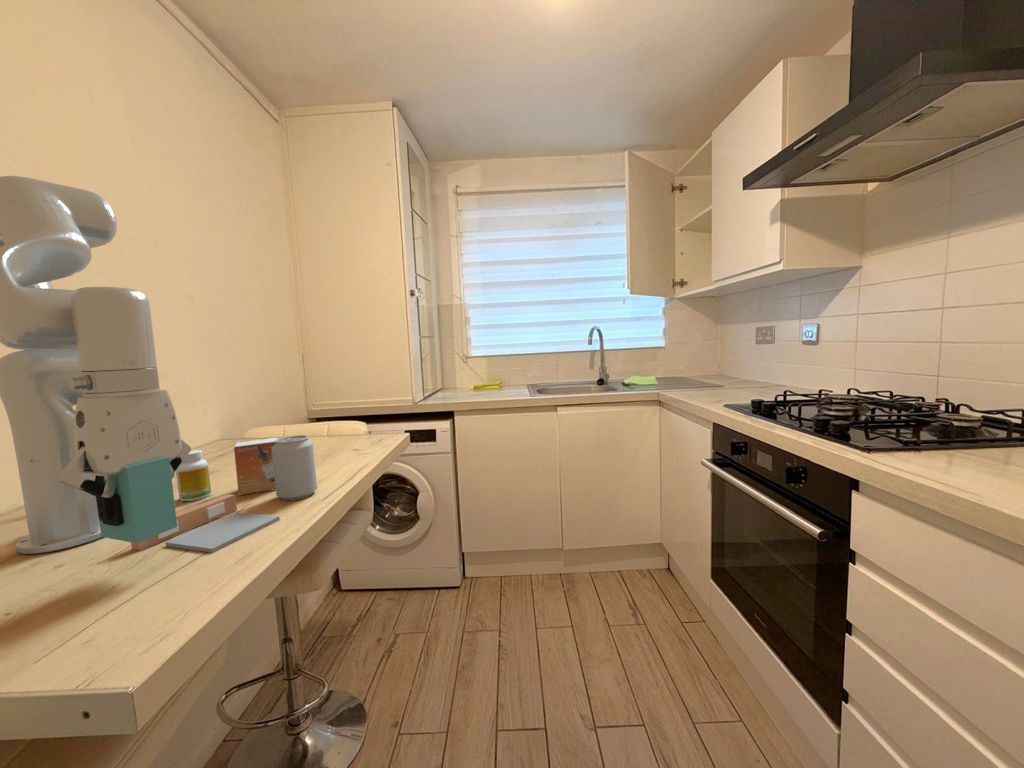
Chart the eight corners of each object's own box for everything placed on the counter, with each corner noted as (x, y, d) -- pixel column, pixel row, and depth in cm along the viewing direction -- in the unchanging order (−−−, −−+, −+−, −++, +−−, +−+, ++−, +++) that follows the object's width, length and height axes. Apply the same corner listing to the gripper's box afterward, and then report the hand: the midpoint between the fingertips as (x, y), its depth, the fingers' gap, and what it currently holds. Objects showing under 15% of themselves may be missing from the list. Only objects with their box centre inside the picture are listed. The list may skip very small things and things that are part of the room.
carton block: (101, 536, 57) (91, 464, 56) (144, 520, 62) (136, 453, 61) (136, 543, 55) (126, 467, 54) (178, 526, 60) (170, 456, 59)
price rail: (131, 549, 66) (129, 530, 66) (229, 509, 81) (227, 494, 81) (141, 550, 65) (139, 531, 65) (238, 510, 80) (236, 494, 80)
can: (306, 501, 83) (300, 440, 82) (268, 503, 83) (262, 442, 82) (324, 488, 91) (318, 432, 90) (289, 489, 91) (283, 434, 90)
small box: (238, 496, 88) (232, 446, 87) (241, 489, 93) (235, 442, 92) (282, 488, 92) (276, 440, 91) (282, 482, 97) (277, 436, 96)
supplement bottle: (216, 495, 90) (210, 450, 89) (186, 504, 86) (180, 456, 85) (204, 491, 93) (199, 448, 92) (175, 500, 88) (169, 454, 88)
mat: (166, 546, 66) (165, 542, 66) (237, 515, 78) (236, 512, 78) (212, 552, 63) (212, 548, 63) (279, 519, 74) (279, 516, 74)
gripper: (53, 391, 47) (76, 548, 49) (206, 377, 63) (219, 495, 65) (14, 391, 50) (37, 540, 51) (171, 377, 66) (184, 491, 68)
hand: (138, 513), depth 58 cm, fingers closed on carton block, 5 cm apart
